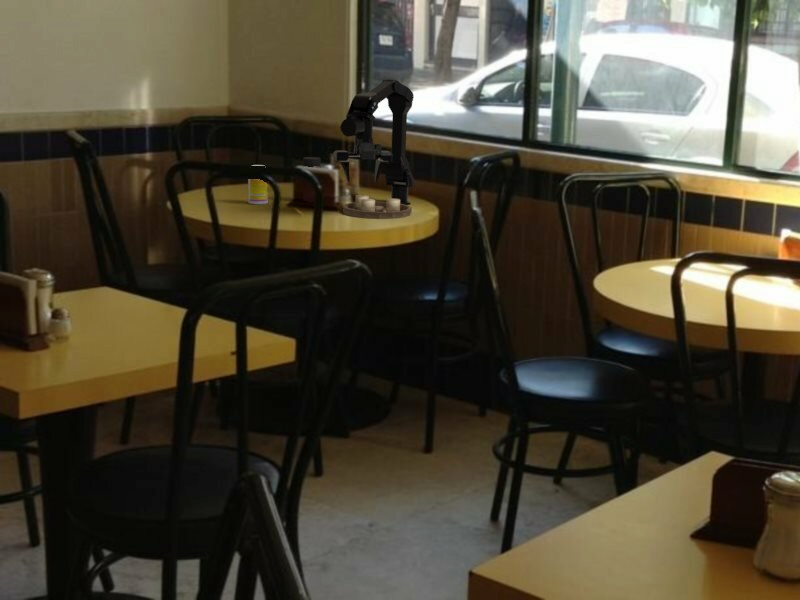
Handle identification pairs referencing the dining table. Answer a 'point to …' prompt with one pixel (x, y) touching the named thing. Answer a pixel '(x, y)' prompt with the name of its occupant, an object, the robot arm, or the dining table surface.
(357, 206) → the loose bead
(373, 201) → the bead
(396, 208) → the bead
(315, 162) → the deodorant
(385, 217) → the tray
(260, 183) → the supplement bottle
